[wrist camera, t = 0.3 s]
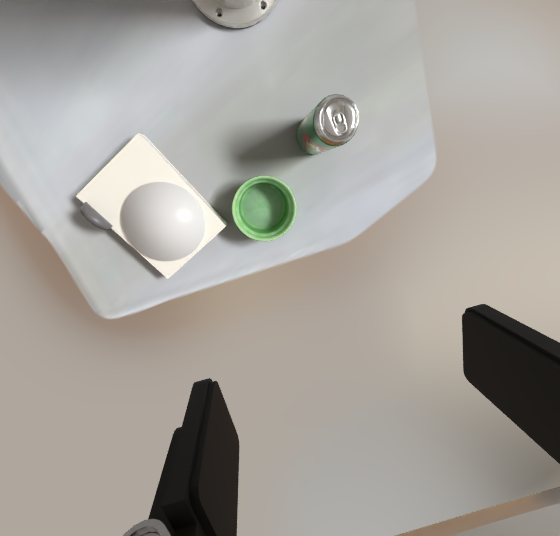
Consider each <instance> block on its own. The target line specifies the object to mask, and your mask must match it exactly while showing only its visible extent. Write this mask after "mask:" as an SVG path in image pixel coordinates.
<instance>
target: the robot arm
mask: <svg viewBox="0 0 560 536" xmlns="http://www.w3.org/2000/svg"><path fill="white" fill-rule="evenodd" d="M192 1H193V2H194V4H195V5H196V6H197V8H198V9H199V10H200V11H201V12H202V13H203V14H204V15H205V16H207V17H208V18H209V19H211V20H212V21H214V22H215V23H218V24H220V25H223V26H225V27H231V28H245V27H248V26H252V25H254V24H256V23H258V22H260V21H261V20H263V19H264V18H265V17H266V16H267V15H268V14H269V13H270V12H271V10H272V9H273V7H274V6H275V4H276V2H277V0H192ZM262 7H264V8H265V9H264V10H263V9H261V8H262ZM219 14H220V15H222V16H221V17H218V15H219ZM462 329H463V330H462V332H463V368H464V375H465V377H466V378H467V380H468V381H469V382H470V383H471V384H472V385H473V386H474V387H475V388H477V389H478V390H479V391H480V392H481V393H482V394H483V395H484V396H485V397H486V398H487V399H489V400H490V401H491V402H492V403H493V404H494V405H495V406H496V407H497V408H499V409H500V410H501V411H502V412H503V413H504V414H505V415H506V416H507V417H509V418H510V419H511V420H512V421H513V422H514V423H515V424H517V426H518V427H519V428H521V429H522V430H523V431H524V432H525V433H526V434H527V435H528V436H529V437H530V438H532V439H533V440H534V441H535V442H536V443H537V444H538V445H539V446H540V447H542V448H543V449H544V450H545V451H546V452H547V453H548V454H549V455H550V456H551V457H553V458H554V459H555V460H556V461H557V462H558V463H559V464H560V343H559V342H557V341H555V340H553V339H551V338H549V337H547V336H545V335H543V334H541V333H540V332H538V331H536V330H534V329H532V328H530V327H528V326H526V325H524V324H522V323H520V322H519V321H517V320H515V319H513V318H511V317H509V316H507V315H505V314H503V313H501V312H499V311H497V310H495V309H493V308H491V307H490V306H488V305H485V304H481V305H477V306H473V307H470V308H467V309H466V311H465V313H464V314H463V315H462ZM238 471H239V439H238V435H237V432H236V429H235V427H234V424H233V422H232V419H231V416H230V414H229V411H228V408H227V406H226V403H225V400H224V398H223V395H222V393H221V390H220V387H219V385H218V382H217V381H214V382H212V380H211V379H210V378H209V379H205V380H201V381H198V382H195V383H194V384H193V387H192V391H191V395H190V398H189V402H188V406H187V410H186V413H185V417H184V421H183V425H182V427H180V428H177V429H176V430H175V431H174V434H173V437H172V440H171V444H170V447H169V451H168V454H167V457H166V461H165V464H164V468H163V471H162V474H161V478H160V481H159V484H158V488H157V491H156V495H155V498H154V502H153V505H152V509H151V512H150V515H149V519H148V520H144V521H142V522H140V523H138V524H136V525H134V526H133V527H132V528H131V529H130V530H128V531H127V532H126V533H125V534H124V535H123V536H237V535H236V534H237V504H238V502H237V501H238ZM396 536H560V487H557V488H554V489H550V490H547V491H543V492H540V493H536V494H533V495H530V496H526V497H523V498H519V499H516V500H513V501H509V502H506V503H502V504H499V505H496V506H492V507H489V508H486V509H482V510H479V511H476V512H472V513H469V514H466V515H462V516H459V517H455V518H452V519H449V520H446V521H442V522H439V523H435V524H432V525H429V526H426V527H422V528H419V529H416V530H412V531H409V532H406V533H402V534H399V535H396Z"/></svg>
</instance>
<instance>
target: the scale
mask: <svg viewBox="0 0 560 536" xmlns="http://www.w3.org/2000/svg"><path fill="white" fill-rule="evenodd" d="M76 197H77V198H78V199H79V200H80V201H82V202H83V203H84V204H83V205H82V206H81V207H80V211H81V213H82V214H83V215H84V217H85V218H86V219H87V220H88V221H90V222H91V223H92V224H94V225H95V226H97V227H99V228H101V229H104V230H110V229H111V228H112V229H113V230H114V231H115V232H116V233H117V234H118V235H119V236H121V237H122V238H123V239H124V240H125V241H126V242H127V243H128V244H129V245H131V246H132V247H133V248H134V249H135V250H136V251H137V252H138V253H139V254H141V255H142V256H143V257H144V258H145V259H146V260H147V261H148V262H149V263H151V264H152V265H153V266H154V267H155V268H156V269H157V270H158V271H159V272H161V273H162V274H163V275H164V276H165V277H166V278H167V279H168V278H170V277H171V276H172V275H173V274H174V273H175V272H176V271H177V270H178V269H179V268H181V267H182V266H183V265H184V264H185V263H186V262H187V261H188V260H189V259H190V258H192V257H193V256H194V255H195V254H196V253H197V252H198V251H199V250H200V249H201V248H203V247H204V246H205V245H206V244H207V243H208V242H209V241H210V240H211V239H213V238H214V237H215V236H216V235H217V234H218V233H219V232H220V231H221V230H222V229H224V228H225V227H226V225H227V222H226V221H225V220H224V219H223V218H222V217H221V216H220V215H219V214H218V213H217V212H216V211H215V210H214V209H213V208H212V207H211V205H210V204H209V203H208V202H207V201H206V200H205V199H204V198H203V197H202V196H201V195H200V194H199V193H198V192H197V191H196V189H195V188H194V187H193V186H192V185H191V184H190V183H189V182H188V181H187V180H186V179H185V178H184V177H183V176H182V175H181V174H180V172H179V171H178V170H177V169H176V168H175V167H174V166H173V165H172V164H171V163H170V162H169V161H168V160H167V159H166V158H165V156H164V155H163V154H162V153H161V152H160V151H159V150H158V149H157V148H156V147H155V146H154V145H153V144H152V143H151V142H150V140H149V139H148V138H147V137H146V136H144V135H142V134H140V133H138V134H137V135H136V136H135V137H134V138H133V139H132V140H131V141H130V142H129V143H128V144H127V145H126V146H125V147H124V148H123V149H122V150H121V151H120V152H119V153H118V154H117V155H116V156H115V157H114V158H113V159H112V160H111V161H110V162H109V163H108V164H107V165H106V166H105V167H104V168H103V169H102V170H101V171H100V172H99V173H98V174H97V175H96V176H95V177H94V178H93V179H92V180H91V181H90V182H89V183H88V184H87V185H86V186H85V187H84V188H83V189H82V190H81V191H80V192H79V193H78V194H77V195H76Z"/></svg>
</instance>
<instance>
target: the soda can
mask: <svg viewBox="0 0 560 536" xmlns="http://www.w3.org/2000/svg"><path fill="white" fill-rule="evenodd" d="M358 121H359V114H358V110H357V107H356V105H355V104H354V102H353V101H352V100H351V99H349V98H347V97H346V96H343V95H339V94H335V95H330V96H328V97H326V98H324V99H323V100H322V101H321V102H320V103H319V104H318V105H317V106H316V107H315V108H314V109H313V110H312V111H311V112H310V113H309V115H308V116H307V117H306V118H305V119H304V120H303V121H302V122H301V123H300V125H299V127H298V130H297V140H298V143H299V145H300V147H301V148H302V149H303V150H304V151H305V152H307V153H309V154H318V153H321V152H324V151H327V150H330V149H332V148H335V147H338V146H341V145H343V144H345V143H347V142H348V141H349V140H350V139H351V138H352V137H353V136H354V134H355V132H356V130H357V127H358Z"/></svg>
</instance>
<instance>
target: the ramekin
mask: <svg viewBox="0 0 560 536" xmlns="http://www.w3.org/2000/svg"><path fill="white" fill-rule="evenodd" d="M232 215H233V219H234V221H235V223H236V225H237V227H238V228H239V230H240V231H241V232H242V233H243V234H245V235H246V236H248V237H249V238H251V239H254V240H257V241H271V240H275V239H277V238H279V237H281V236H282V235H284V234H285V233H286V232H287V231H288V230H289V229H290V227H291V226H292V224H293V222H294V219H295V216H296V202H295V198H294V195H293V193H292V191H291V190H290V189H289V187H288V186H287V185H286V184H285V183H283V182H282V181H281V180H279V179H277V178H274V177H271V176H257V177H253V178H251V179H249V180H247V181H246V182H245V183H243V184H242V185H241V186H240V187H239V189H238V190H237V192H236V194H235V196H234V198H233V202H232Z"/></svg>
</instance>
